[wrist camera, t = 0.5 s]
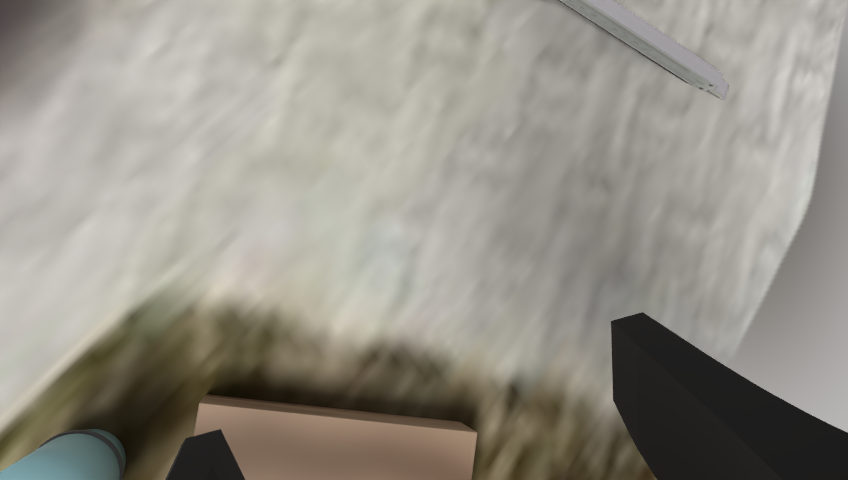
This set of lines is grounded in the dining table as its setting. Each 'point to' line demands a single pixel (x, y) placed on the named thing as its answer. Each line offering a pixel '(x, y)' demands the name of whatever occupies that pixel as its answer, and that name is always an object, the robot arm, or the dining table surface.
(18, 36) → the dining table surface
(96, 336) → the dining table surface
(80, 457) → the peg
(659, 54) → the caliper
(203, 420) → the board
